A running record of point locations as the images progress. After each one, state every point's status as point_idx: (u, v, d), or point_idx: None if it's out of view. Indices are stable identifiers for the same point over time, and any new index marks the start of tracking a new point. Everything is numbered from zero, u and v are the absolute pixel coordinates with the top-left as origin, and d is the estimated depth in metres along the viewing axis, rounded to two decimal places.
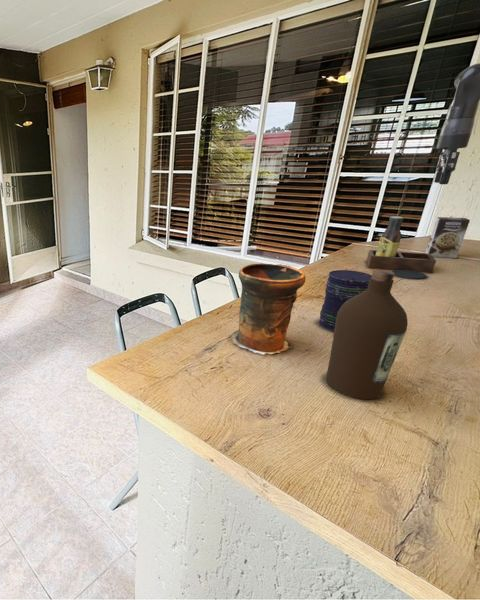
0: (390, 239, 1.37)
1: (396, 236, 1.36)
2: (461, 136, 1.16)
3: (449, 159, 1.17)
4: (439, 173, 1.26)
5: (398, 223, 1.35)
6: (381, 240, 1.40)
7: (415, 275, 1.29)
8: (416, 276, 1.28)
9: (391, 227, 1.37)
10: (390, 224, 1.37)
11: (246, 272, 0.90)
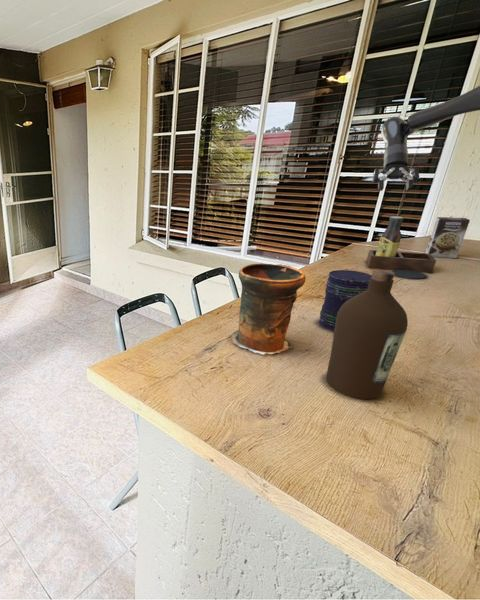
0: (390, 239, 1.37)
1: (396, 236, 1.36)
2: (385, 158, 1.47)
3: (373, 175, 1.48)
4: (407, 183, 1.41)
5: (398, 223, 1.35)
6: (381, 240, 1.40)
7: (415, 275, 1.29)
8: (416, 276, 1.28)
9: (391, 227, 1.36)
10: (390, 224, 1.37)
11: (246, 272, 0.90)
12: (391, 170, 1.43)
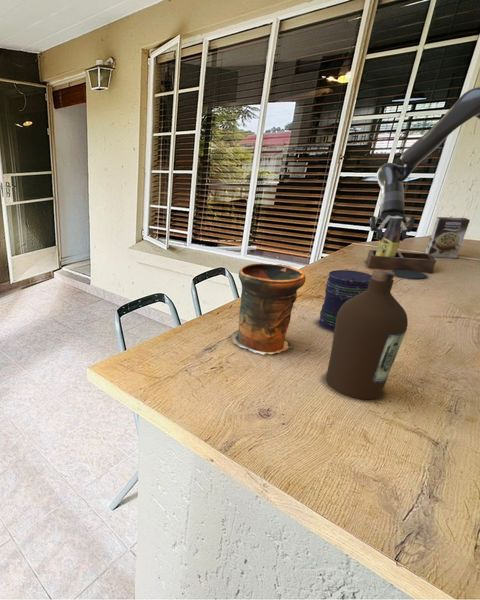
0: (389, 239, 1.37)
1: (396, 236, 1.36)
2: (381, 205, 1.44)
3: (370, 223, 1.44)
4: None
5: (397, 223, 1.35)
6: (381, 240, 1.40)
7: (415, 275, 1.29)
8: (416, 276, 1.28)
9: (390, 227, 1.37)
10: (390, 224, 1.37)
11: (246, 272, 0.90)
12: (387, 218, 1.40)
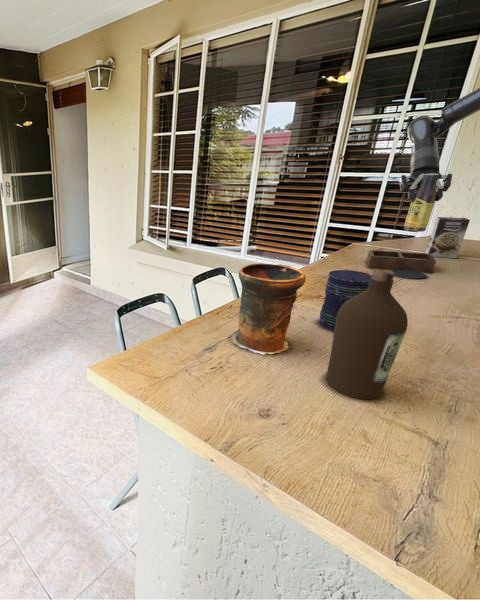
0: (423, 199, 1.22)
1: (431, 195, 1.21)
2: (412, 163, 1.29)
3: (400, 183, 1.29)
4: None
5: (433, 181, 1.20)
6: (413, 201, 1.25)
7: (415, 275, 1.29)
8: (416, 276, 1.28)
9: (425, 186, 1.22)
10: (424, 182, 1.22)
11: (246, 272, 0.90)
12: (420, 177, 1.25)
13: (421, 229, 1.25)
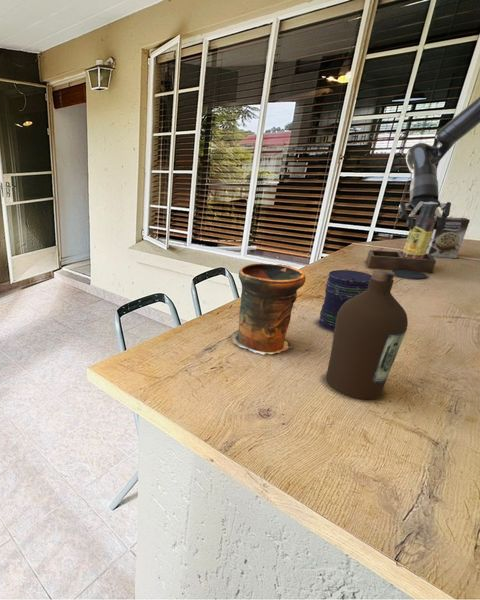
0: (422, 228, 1.23)
1: (430, 224, 1.21)
2: (412, 190, 1.29)
3: (399, 210, 1.30)
4: None
5: (432, 210, 1.21)
6: (412, 229, 1.26)
7: (415, 275, 1.29)
8: (416, 276, 1.28)
9: (424, 214, 1.22)
10: (423, 211, 1.22)
11: (246, 272, 0.90)
12: (420, 204, 1.26)
13: (419, 256, 1.26)
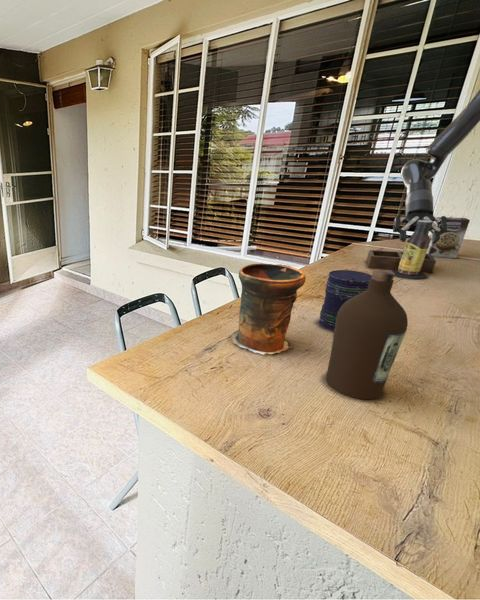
0: (417, 245, 1.25)
1: (424, 241, 1.24)
2: (407, 205, 1.31)
3: (394, 223, 1.32)
4: (433, 235, 1.25)
5: (426, 228, 1.23)
6: (407, 246, 1.28)
7: (415, 275, 1.29)
8: (416, 276, 1.28)
9: (418, 232, 1.25)
10: (417, 228, 1.25)
11: (246, 272, 0.90)
12: (414, 219, 1.28)
13: (414, 273, 1.29)
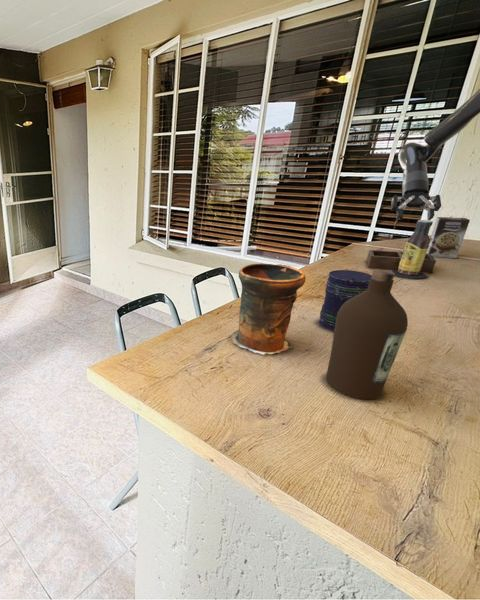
0: (417, 245, 1.25)
1: (424, 241, 1.24)
2: (404, 185, 1.40)
3: (391, 202, 1.41)
4: (428, 212, 1.34)
5: (426, 228, 1.23)
6: (407, 246, 1.28)
7: (415, 275, 1.29)
8: (416, 276, 1.28)
9: (418, 232, 1.25)
10: (417, 228, 1.25)
11: (246, 272, 0.90)
12: (411, 198, 1.36)
13: (414, 273, 1.29)
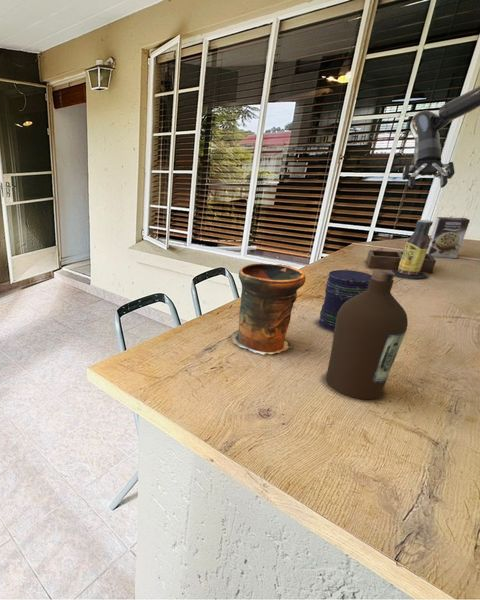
0: (417, 245, 1.25)
1: (424, 241, 1.24)
2: (416, 154, 1.38)
3: (403, 171, 1.39)
4: (441, 180, 1.32)
5: (426, 228, 1.23)
6: (407, 246, 1.28)
7: (415, 275, 1.29)
8: (416, 276, 1.28)
9: (418, 232, 1.25)
10: (417, 228, 1.25)
11: (246, 272, 0.90)
12: (423, 166, 1.34)
13: (414, 273, 1.29)
